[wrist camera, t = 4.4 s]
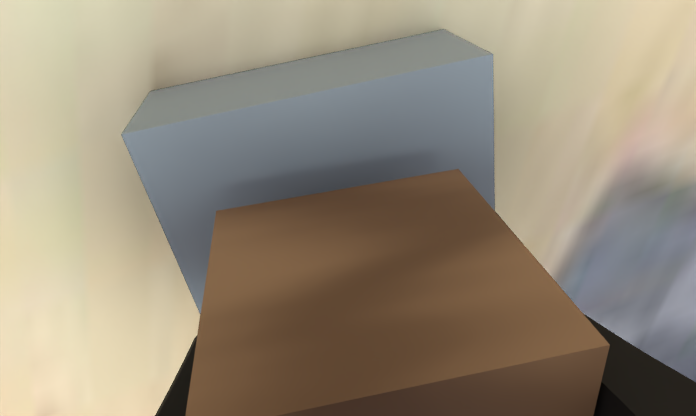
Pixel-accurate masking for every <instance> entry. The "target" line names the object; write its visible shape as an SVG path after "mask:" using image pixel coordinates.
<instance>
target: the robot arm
mask: <svg viewBox="0 0 696 416" xmlns="http://www.w3.org/2000/svg"><path fill="white" fill-rule="evenodd" d="M584 315H585V314H584ZM585 317H586V318H587V319H588V320H589V321H590V322H591V324H592V325H593V326H594V327H595V328H596V329H597V330H598V332H599V333H600V334H601V335H602V336H603V337H604V339H605V340H606V341H607V342H608V343H609V344H610V347H609V351H608V355H607V359H606V364H605V368H604V372H603V376H602V381H601V385H600V389H599V393H598V398H597V402H596V406H595V411H594V415H593V416H696V382H694V381H692V380H691V379H689V378H687V377H685V376H684V375H682V374H680V373H679V372H677V371H675V370H673V369H672V368H670V367H668V366H666V365H665V364H663V363H661V362H660V361H658V360H656V359H654V358H653V357H651V356H649V355H648V354H646V353H644V352H643V351H641V350H640V349H638V348H636V347H635V346H633V345H631V344H630V343H628V342H627V341H625V340H623V339H622V338H620V337H619V336H617V335H615V334H614V333H612V332H611V331H609V330H608V329H606V328H604V327H603V326H601V325H600V324H598V323H597V322H595V321H594V320H592V319H591V318H589V317H588V316H586V315H585ZM196 342H197V336H196V337H195V339H194V341H193V343H192V345H191V347H190V349H189V351H188V353H187V355H186V357H185V359H184V361H183V363H182V365H181V367H180V369H179V371H178V373H177V375H176V377H175V379H174V381H173V383H172V385H171V387H170V389H169V391H168V393H167V395H166V396H165V398H164V400H163V402H162V404H161V406H160V408H159V409H158V411H157V413H156V415H155V416H185V415H186V408H187V401H188V395H189V388H190V382H191V375H192V368H193V362H194V355H195V348H196Z"/></svg>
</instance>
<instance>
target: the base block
mask: <svg viewBox="0 0 696 416" xmlns="http://www.w3.org/2000/svg"><path fill="white" fill-rule="evenodd" d="M121 135H122V137H123V140H124V142H125V144H126V147H127V149H128V151H129V153H130V156H131V158H132V160H133V162H134V165H135V167H136V169H137V172H138V174H139V176H140V178H141V181H142V183H143V185H144V187H145V190H146V192H147V194H148V197H149V199H150V201H151V203H152V206H153V208H154V210H155V212H156V215H157V217H158V219H159V222H160V224H161V226H162V228H163V231H164V233H165V235H166V237H167V240H168V242H169V244H170V247H171V249H172V251H173V253H174V256H175V258H176V260H177V262H178V265H179V267H180V269H181V272H182V274H183V276H184V278H185V281H186V283H187V285H188V287H189V290H190V292H191V294H192V297H193V299H194V301H195V303H196V306H197V308H198V310H199V312H200V315H201V308H202V302H203V295H204V289H205V282H206V275H207V269H208V262H209V255H210V249H211V242H212V235H213V229H214V222H215V216H216V211H218V210H224V209H230V208H235V207H241V206H247V205H253V204H258V203H264V202H270V201H276V200H281V199H287V198H293V197H299V196H304V195H310V194H316V193H322V192H328V191H333V190H339V189H345V188H351V187H356V186H362V185H368V184H374V183H379V182H385V181H391V180H397V179H402V178H408V177H414V176H420V175H425V174H431V173H437V172H443V171H448V170H454V169H459V170H460V171H461V172H462V174H463V175H464V176H465V177H466V178H467V179H468V181H469V182H470V183H471V184H472V185H473V186H474V188H475V189H476V190H477V191H478V192H479V193H480V195H481V196H482V197H483V198H484V199H485V200H486V202H487V203H488V204H489V205H490V206H491V207H492V208H493V210H494V211H495V194H494V98H493V54H492V53H490V52H488V51H486V50H484V49H482V48H480V47H478V46H476V45H474V44H472V43H470V42H468V41H466V40H464V39H462V38H460V37H458V36H456V35H454V34H452V33H450V32H448V31H446V30H444V29H442V30H437V31H433V32H428V33H423V34H418V35H414V36H409V37H404V38H400V39H395V40H390V41H385V42H381V43H376V44H371V45H366V46H362V47H357V48H352V49H347V50H343V51H338V52H333V53H329V54H324V55H319V56H314V57H310V58H305V59H300V60H295V61H291V62H286V63H281V64H276V65H272V66H267V67H262V68H258V69H253V70H248V71H243V72H239V73H234V74H229V75H224V76H220V77H215V78H210V79H205V80H201V81H196V82H191V83H186V84H182V85H177V86H172V87H168V88H163V89H158V90H153V91H150V92H149V94H148V95H147V97H146V98H145V100H144V101H143V103H142V104H141V106H140V107H139V109H138V110H137V112H136V113H135V115H134V116H133V118H132V119H131V121H130V122H129V124H128V125H127V127H126V128H125V130H124V131H123V132H122V134H121Z"/></svg>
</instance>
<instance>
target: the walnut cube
mask: <svg viewBox="0 0 696 416" xmlns="http://www.w3.org/2000/svg"><path fill="white" fill-rule="evenodd" d="M609 347H610V344H609V343H608V342H607V341H606V340H605V339H604V337H603V336H602V335H601V334H600V333H599V332H598V330H597V329H596V328H595V327H594V326H593V325H592V324H591V322H590V321H589V320H588V319H587V318H586V317H585V315H584V314H583V313H582V312H581V311H580V310H579V308H578V307H577V306H576V305H575V304H574V303H573V301H572V300H571V299H570V298H569V297H568V296H567V294H566V293H565V292H564V291H563V290H562V289H561V287H560V286H559V285H558V284H557V283H556V282H555V281H554V279H553V278H552V277H551V276H550V275H549V274H548V272H547V271H546V270H545V269H544V268H543V267H542V265H541V264H540V263H539V262H538V261H537V260H536V258H535V257H534V256H533V255H532V254H531V253H530V251H529V250H528V249H527V248H526V247H525V246H524V245H523V243H522V242H521V241H520V240H519V239H518V238H517V236H516V235H515V234H514V233H513V232H512V231H511V229H510V228H509V227H508V226H507V225H506V224H505V222H504V221H503V220H502V219H501V218H500V217H499V215H498V214H497V213H496V212H495V211H494V210H493V208H492V207H491V206H490V205H489V204H488V203H487V202H486V200H485V199H484V198H483V197H482V196H481V195H480V193H479V192H478V191H477V190H476V189H475V188H474V186H473V185H472V184H471V183H470V182H469V181H468V179H467V178H466V177H465V176H464V175H463V174H462V172H461V171H460V170H459V169H454V170H448V171H443V172H437V173H431V174H425V175H420V176H414V177H408V178H402V179H397V180H391V181H385V182H379V183H374V184H368V185H362V186H356V187H351V188H345V189H339V190H333V191H328V192H322V193H316V194H310V195H304V196H299V197H293V198H287V199H281V200H276V201H270V202H264V203H258V204H253V205H247V206H241V207H235V208H230V209H224V210H218V211H216V216H215V222H214V229H213V235H212V242H211V249H210V255H209V262H208V269H207V275H206V282H205V289H204V295H203V302H202V308H201V315H200V322H199V328H198V335H197V342H196V348H195V355H194V362H193V368H192V375H191V382H190V388H189V395H188V401H187V408H186V415H185V416H593V415H594V411H595V406H596V402H597V398H598V393H599V389H600V385H601V381H602V376H603V372H604V368H605V364H606V359H607V355H608V351H609Z"/></svg>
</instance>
